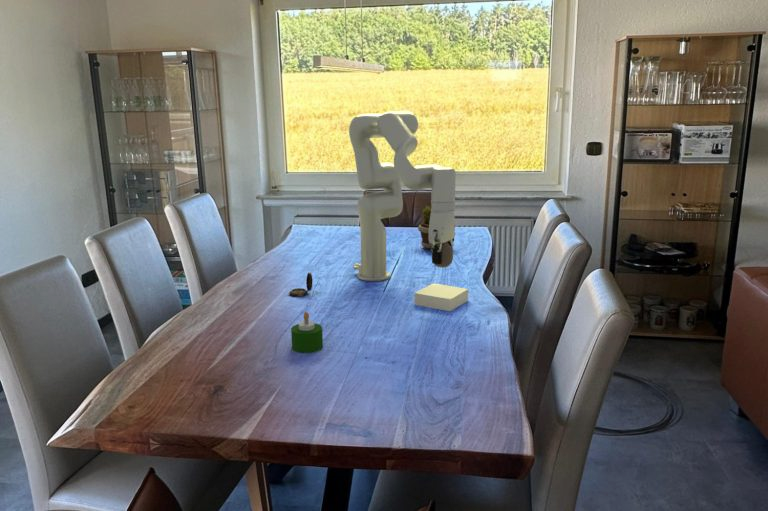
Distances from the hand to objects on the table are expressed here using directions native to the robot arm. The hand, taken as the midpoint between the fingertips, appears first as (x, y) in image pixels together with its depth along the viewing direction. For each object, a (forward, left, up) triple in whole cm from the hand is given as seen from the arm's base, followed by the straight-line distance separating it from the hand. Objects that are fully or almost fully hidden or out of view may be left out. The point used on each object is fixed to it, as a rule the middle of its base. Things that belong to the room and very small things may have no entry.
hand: (442, 260), depth 201 cm
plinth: (0, 0, -14) cm, 14 cm away
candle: (-13, -53, -15) cm, 56 cm away
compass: (-45, -17, -15) cm, 51 cm away
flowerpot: (-39, +68, -14) cm, 80 cm away
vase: (0, 0, -2) cm, 2 cm away
